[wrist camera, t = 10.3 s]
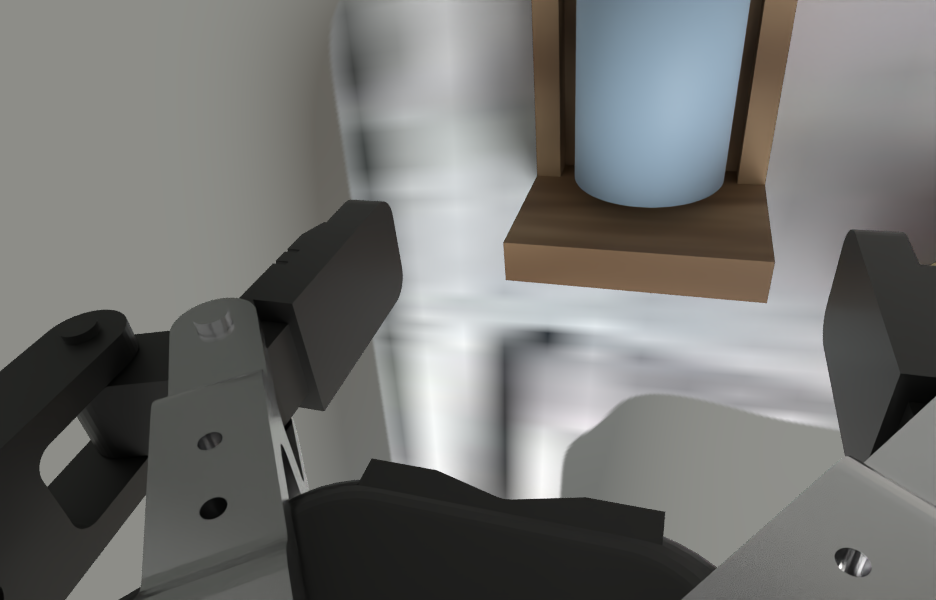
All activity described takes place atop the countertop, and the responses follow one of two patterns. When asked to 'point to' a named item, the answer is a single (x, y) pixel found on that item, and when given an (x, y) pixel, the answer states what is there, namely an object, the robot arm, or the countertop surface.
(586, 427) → the countertop surface
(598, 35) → the cylinder
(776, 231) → the countertop surface
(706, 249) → the cradle
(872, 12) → the countertop surface
